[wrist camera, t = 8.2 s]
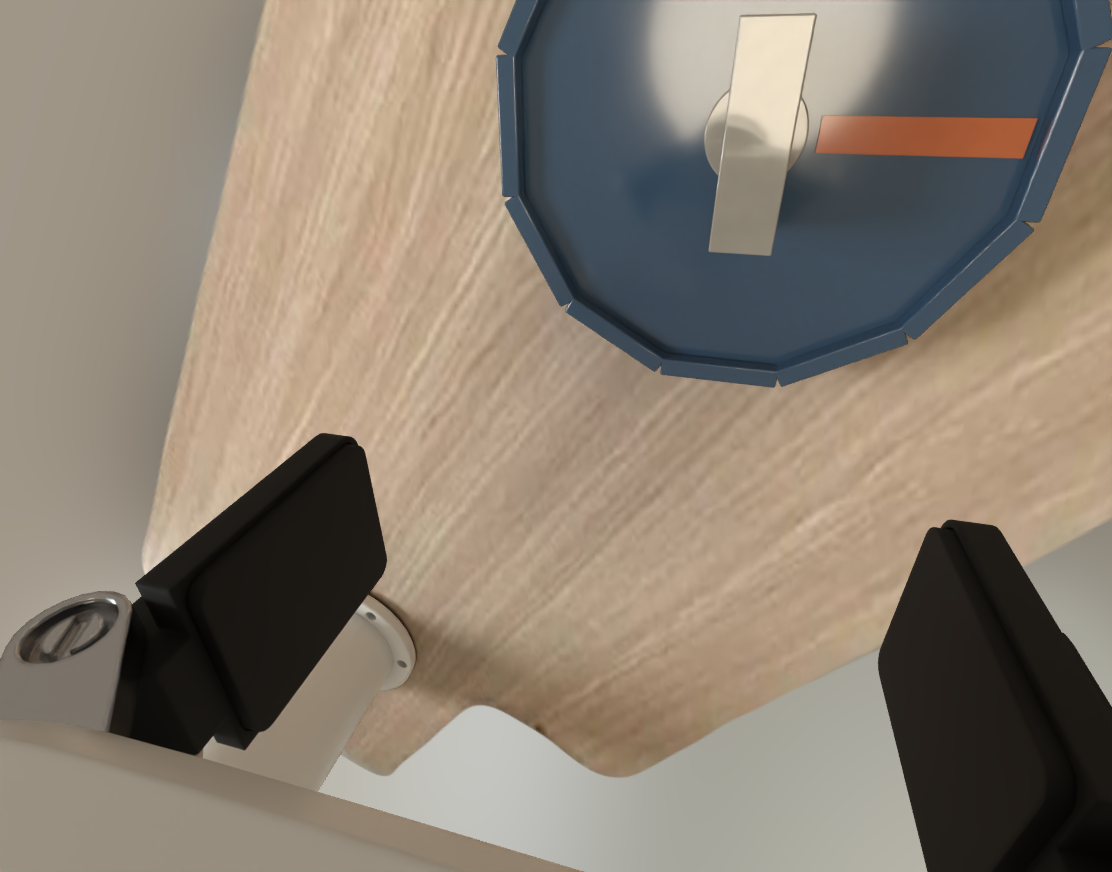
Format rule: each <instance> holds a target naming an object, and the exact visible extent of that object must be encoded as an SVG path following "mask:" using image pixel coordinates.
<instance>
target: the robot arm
mask: <svg viewBox="0 0 1112 872" xmlns="http://www.w3.org/2000/svg"><path fill="white" fill-rule="evenodd" d="M386 563H387V556H386V551H385V546H384V541H383V536H382V531H381V527H380V522H379V517H378V512H377V507H376V503H375V498H374V493H373V488H372V483H371V479H370V474H369V469H368V464H367V459H366V455H365V451H364V449H363V448H362V447H360V446H358V444H357V442H356V440H355V439H354V438H352V437H349V436H341V435H334V434H327V433H321V434H319V435H317V436H316V437H314V438H313V439H312V440H311V441H309V442H308V443H307V444H306V445H305V446H303V447H302V448H301V449H300V450H298V451H297V452H296V453H295V454H293V455H292V456H291V457H290V458H289V459H287V460H286V461H285V462H284V463H282V464H281V465H280V466H279V467H277V468H276V469H275V470H274V471H272V472H271V473H270V474H269V475H268V476H266V477H265V478H264V479H263V480H261V481H260V482H259V483H258V484H256V485H255V486H254V487H253V488H252V489H250V490H249V491H248V492H247V493H245V494H244V495H243V496H242V497H240V498H239V499H238V500H237V501H236V502H234V503H233V504H232V505H231V506H229V507H228V508H227V509H226V510H224V511H223V512H222V513H221V514H220V515H218V516H217V517H216V518H215V519H213V520H212V521H211V522H210V523H208V524H207V525H206V526H205V527H204V528H202V529H201V530H200V531H199V532H197V533H196V534H195V535H194V536H192V537H191V538H190V539H189V540H187V541H186V542H185V543H184V544H183V545H181V546H180V547H179V548H178V549H176V550H175V551H174V552H173V553H171V554H170V555H169V556H168V557H167V558H165V559H164V560H163V561H162V562H160V563H159V564H158V565H157V566H155V567H154V568H153V569H152V570H151V571H149V572H148V573H147V574H146V575H144V576H143V577H142V578H141V579H140V580H138V581H137V582H136V583H135V584H136V586H137V588H138V589H139V592H140V594H141V596H142V597H140V598H139V599H138V600H137V601H136V602H135V603H133V604H132V603H131V602H130V601H129V600H128V598H127V597H126V596H125V595H122V594H120V593H116V592H109V591H108V592H107V591H98V592H93V593H87V594H82V595H79V596H76V597H73V598H70V599H67V600H65V601H62V602H60V603H58V604H56V605H54V606H52V607H50V608H48V609H46V610H44V611H43V612H41V613H40V614H38V615H37V616H35V617H34V618H32V619H31V620H30V621H28V622H27V623H26V624H25V625H24V626H23V627H21V628H20V629H19V630H18V631H17V632H16V633H15V634H14V635H13V637H12V638H11V640H10V642H9V643H8V645H7V646H6V648H5V650H4V652H3V654H2V657H1V659H0V872H583V871H579V870H576V869H573V868H569V867H566V866H563V865H560V864H556V863H553V862H550V861H546V860H543V859H540V858H536V857H533V856H530V855H526V854H523V853H520V852H516V851H513V850H510V849H506V848H503V847H500V846H496V845H493V844H490V843H487V842H483V841H480V840H477V839H473V838H470V837H466V836H463V835H460V834H457V833H453V832H450V831H447V830H443V829H440V828H437V827H433V826H430V825H426V824H423V823H420V822H417V821H413V820H410V819H407V818H403V817H400V816H397V815H393V814H390V813H387V812H383V811H380V810H377V809H373V808H370V807H367V806H363V805H360V804H357V803H353V802H350V801H346V800H343V799H339V798H336V797H333V796H329V795H326V794H323V793H319V792H318V791H319V789H320V787H321V786H322V784H323V782H324V780H325V779H326V777H327V776H328V774H329V772H330V771H331V769H332V767H333V766H334V764H335V763H336V761H337V759H338V757H339V756H340V754H341V753H342V751H343V749H344V748H345V746H346V744H347V743H348V741H349V739H350V738H351V736H352V734H353V733H354V731H355V729H356V728H357V726H358V725H359V723H360V721H361V720H362V718H363V716H364V715H365V713H366V711H367V710H368V708H369V706H370V705H371V703H372V701H373V700H374V698H375V696H376V695H377V693H378V691H386V690H390V689H394V688H396V687H398V686H400V685H402V684H403V683H404V682H405V681H406V680H407V679H408V677H409V675H410V673H411V672H412V670H413V668H414V665H415V661H416V657H415V649H414V645H413V642H412V640H411V638H410V636H409V634H408V632H407V630H406V629H405V627H404V626H403V625H402V623H401V622H400V621H399V619H398V618H397V617H396V616H395V615H394V614H393V613H392V612H391V611H390V610H389V609H387V608H386V607H385V606H384V605H383V604H381V603H380V602H379V601H377V600H376V599H374V598H373V597H371V596H370V595H368V594H369V593H370V592H371V590H372V589H373V588H374V586H375V585H376V583H377V582H378V581H379V579H380V578H381V577H382V575H383V573H384V571H385V568H386ZM878 670H879V676H880V680H881V684H882V688H883V692H884V696H885V700H886V704H887V709H888V712H889V716H890V721H891V725H892V729H893V732H894V737H895V741H896V745H897V749H898V753H899V757H900V762H901V766H902V769H903V774H904V778H905V782H906V786H907V790H908V794H909V798H910V802H911V806H912V810H913V815H914V818H915V822H916V827H917V831H918V835H919V839H920V843H921V847H922V851H923V855H924V859H925V863H926V868H927V871H928V872H1112V707H1111V705H1110V703H1109V702H1108V700H1107V699H1106V697H1105V695H1104V694H1103V692H1102V690H1101V689H1100V687H1099V685H1098V684H1097V682H1096V681H1095V679H1094V677H1093V676H1092V674H1091V672H1090V671H1089V669H1088V668H1087V666H1086V664H1085V662H1084V661H1083V660H1082V658H1081V656H1080V654H1079V653H1078V651H1077V649H1076V648H1075V646H1074V645H1073V643H1072V642H1071V641H1070V640H1069V638H1068V637H1067V636H1066V635H1065V634H1064V633H1062V632H1061V630H1060V629H1059V627H1058V625H1057V624H1056V622H1055V621H1054V619H1053V617H1052V615H1051V614H1050V612H1049V611H1048V609H1047V607H1046V606H1045V604H1044V602H1043V601H1042V599H1041V597H1040V596H1039V594H1038V592H1037V591H1036V589H1035V587H1034V586H1033V584H1032V582H1031V581H1030V579H1029V578H1028V576H1027V574H1026V572H1025V571H1024V569H1023V567H1022V566H1021V564H1020V562H1019V561H1018V559H1017V558H1016V556H1015V554H1014V553H1013V551H1012V549H1011V548H1010V546H1009V544H1008V543H1007V541H1006V539H1005V538H1004V536H1003V534H1002V533H1001V531H1000V530H999V529H998V528H997V527H995V526H993V525H986V524H979V523H972V522H965V521H957V520H947V521H946V522H945V523H944V524H943V525H942V527H941V528H936V527H932V528H930V529H929V530H928V532H927V534H926V536H925V538H924V541H923V543H922V546H921V548H920V551H919V553H918V556H917V558H916V561H915V563H914V566H913V568H912V571H911V573H910V576H909V578H908V581H907V583H906V586H905V588H904V591H903V593H902V596H901V598H900V601H899V603H898V606H897V608H896V611H895V613H894V616H893V618H892V621H891V623H890V626H889V628H888V631H887V633H886V636H885V638H884V641H883V643H882V646H881V649H880V652H879V658H878Z"/></svg>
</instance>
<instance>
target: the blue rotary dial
mask: <svg viewBox="0 0 1112 872" xmlns="http://www.w3.org/2000/svg"><path fill="white" fill-rule="evenodd" d="M1111 39H1112V17H1111V10H1110V4H1109V0H516V2H515V4H514V7H513V9H512V12H511V14H510V17H509V19H508V21H507V24H506V26H505V29H504V31H503V34H502V36H501V39H500V41H499V44H498V48H499V49H500V50H502V51H503V52H504V53H506V54H507V55H497V56H496V70H497V92H498V113H499V135H500V157H501V179H502V195H503V196H504V197H512V198H511V199H509V200H508V201H506V202H505V206H506V207H507V209H508V211H509V213H510V215H511V217H512V219H513V220H514V222H515V224H516V226H517V228H518V230H519V231H520V233H521V235H522V237H523V239H524V241H525V243H526V244H527V246H528V248H529V250H530V252H531V254H532V255H533V257H534V259H535V261H536V263H537V265H538V266H539V268H540V270H541V272H542V274H543V276H544V278H545V279H546V281H547V283H548V285H549V287H550V289H551V290H552V292H553V294H554V296H555V298H556V300H557V302H558V303H559V305H560V306H564V305H566V304H568V303H569V304H568V306H567V308H566V309H565V312H566V313H568V314H569V315H571V316H572V317H574V318H575V319H577V320H578V321H580V322H581V323H583V324H584V325H586V326H587V327H589V328H590V329H592V330H593V331H594V332H596V333H597V334H599V335H600V336H602V337H603V338H605V339H606V340H608V341H609V342H611V343H612V344H614V345H615V346H617V347H618V348H620V349H621V350H623V351H624V352H626V353H627V354H629V355H630V356H632V357H633V358H635V359H636V360H638V361H639V362H640V363H642V364H643V365H645V366H646V367H648V368H649V369H651V370H652V371H654V372H655V371H657V370H658V368H659V367H660V366H661V372H660V373H661V375H669V376H678V377H686V378H695V379H704V380H712V381H721V382H730V383H738V384H747V385H756V386H764V387H773V388H774V387H775V385H776V381H777V379H778V381H779V384H780V386H781V387H783V386H786V385H789V384H792V383H795V382H798V381H800V380H803V379H806V378H809V377H812V376H815V375H818V374H821V373H824V372H827V371H830V370H833V369H836V368H839V367H842V366H845V365H848V364H851V363H854V362H856V361H859V360H862V359H865V358H868V357H871V356H874V355H877V354H880V353H883V352H886V351H889V350H892V349H895V348H898V347H901V346H904V345H907V344H908V340H907V337H906V334H907V335H908V336H910V337H911V338H912V339H917V338H918V337H919V336H920V335H921V334H922V333H923V332H924V331H925V330H926V329H928V328H929V327H930V326H931V325H932V324H933V323H934V322H935V321H936V320H937V319H938V318H940V317H941V316H942V315H943V314H944V313H945V312H946V311H947V310H948V309H949V308H950V307H952V306H953V305H954V304H955V303H956V302H957V301H958V300H959V299H960V298H961V297H962V296H964V295H965V294H966V293H967V292H968V291H969V290H970V289H971V288H972V287H973V286H974V285H976V284H977V283H978V282H979V281H980V280H981V279H982V278H983V277H984V276H985V275H986V274H988V273H989V272H990V271H991V270H992V269H993V268H994V267H995V266H996V265H997V264H998V263H1000V262H1001V261H1002V260H1003V259H1004V258H1005V257H1006V256H1007V255H1008V254H1009V253H1010V252H1012V251H1013V250H1014V249H1015V248H1016V247H1017V246H1018V245H1019V244H1020V243H1021V242H1022V241H1024V240H1025V239H1026V238H1027V237H1028V236H1029V235H1030V234H1031V233H1032V232H1033V231H1034V228H1032V227H1031V226H1030V225H1028V224H1027V223H1025V222H1040V221H1041V220H1042V217H1043V215H1044V212H1045V210H1046V208H1047V205H1048V203H1049V200H1050V198H1051V196H1052V193H1053V191H1054V188H1055V186H1056V183H1057V181H1058V179H1059V176H1060V174H1061V171H1062V169H1063V167H1064V164H1065V162H1066V159H1067V157H1068V155H1069V152H1070V150H1071V147H1072V145H1073V143H1074V140H1075V138H1076V135H1077V133H1078V131H1079V128H1080V126H1081V123H1082V121H1083V119H1084V116H1085V114H1086V111H1087V109H1088V106H1089V104H1090V102H1091V99H1092V97H1093V94H1094V92H1095V90H1096V87H1097V85H1098V82H1099V80H1100V78H1101V75H1102V73H1103V70H1104V68H1105V66H1106V63H1107V61H1108V58H1109V56H1110V54H1111V51H1112V48H1110V47H1097V46H1099V45H1101V44H1103V43H1105V42H1107V41H1109V40H1111Z"/></svg>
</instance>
